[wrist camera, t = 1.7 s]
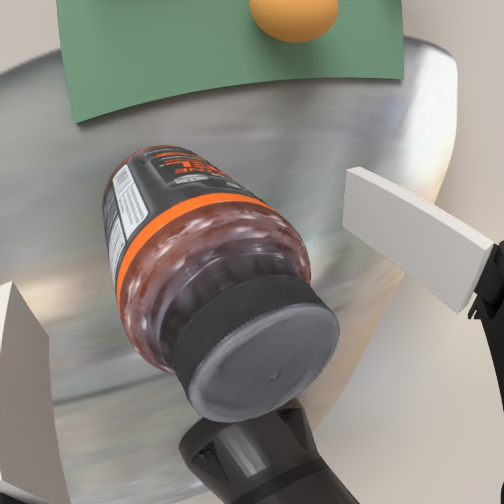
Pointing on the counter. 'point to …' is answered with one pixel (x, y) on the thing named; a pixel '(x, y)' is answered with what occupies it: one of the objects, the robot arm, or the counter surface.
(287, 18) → the ball
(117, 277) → the supplement bottle
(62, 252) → the counter surface
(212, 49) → the pitch mat
